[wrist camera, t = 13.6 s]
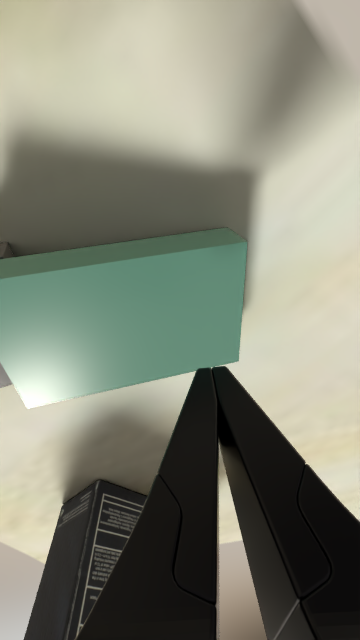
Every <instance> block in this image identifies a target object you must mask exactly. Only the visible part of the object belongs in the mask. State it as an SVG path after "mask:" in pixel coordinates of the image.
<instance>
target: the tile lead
mask: <svg viewBox="0 0 360 640" xmlns="http://www.w3.org/2000/svg"><path fill="white" fill-rule="evenodd" d="M246 255H247V241H246V240H245V239H243V238H242V237H240V236H239V235H238V234H236V233H235V232H233V231H232V230H231V229H229V228H228V227H226V228H219V229H212V230H205V231H198V232H191V233H183V234H176V235H169V236H162V237H155V238H148V239H141V240H134V241H127V242H119V243H112V244H105V245H98V246H91V247H84V248H77V249H70V250H63V251H56V252H48V253H41V254H34V255H27V256H20V257H13V258H6V259H0V363H1V364H2V366H3V368H4V370H5V371H6V373H7V375H8V376H9V378H10V380H11V382H12V383H13V385H14V387H15V389H16V390H17V392H18V394H19V395H20V397H21V399H22V401H23V402H24V404H25V406H26V408H27V409H29V408H33V407H38V406H42V405H47V404H51V403H56V402H60V401H65V400H69V399H73V398H78V397H82V396H87V395H91V394H96V393H100V392H104V391H109V390H113V389H118V388H122V387H127V386H131V385H135V384H140V383H144V382H149V381H153V380H158V379H162V378H166V377H171V376H175V375H180V374H184V373H189V372H193V371H197V369H198V368H207V367H210V368H211V367H215V366H220V365H224V364H228V363H233V362H237V361H239V348H240V335H241V321H242V308H243V295H244V281H245V268H246Z"/></svg>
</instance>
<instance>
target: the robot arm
mask: <svg viewBox="0 0 360 640" xmlns="http://www.w3.org/2000/svg"><path fill="white" fill-rule="evenodd" d="M219 444H220V449H221V453H222V457H223V461H224V465H225V470H226V474H227V478H228V482H229V486H230V490H231V494H232V498H233V502H234V506H235V510H236V514H237V518H238V522H239V526H240V530H241V534H242V538H243V542H244V546H245V550H246V555H247V559H248V563H249V566H250V571H251V575H252V579H253V583H254V587H255V591H256V595H257V599H258V603H259V607H260V611H261V616H262V620H263V624H264V628H265V632H266V636H267V640H360V522H359V521H358V520H357V519H356V518H355V516H354V515H353V514H352V513H351V512H350V511H349V510H348V509H347V508H346V507H345V506H344V505H343V504H342V503H341V502H340V501H339V500H338V499H337V497H336V496H335V495H334V494H333V493H332V492H331V491H330V489H329V488H328V487H327V486H326V485H325V484H324V483H323V481H322V480H321V479H320V478H319V477H318V476H317V474H316V473H315V472H314V471H313V470H312V468H311V467H310V466H309V465H308V464H306V465H305V463H306V462H305V460H304V459H303V458H302V457H301V455H300V454H299V453H298V452H297V451H296V449H295V448H294V447H293V446H292V445H291V443H290V442H289V441H288V440H287V439H286V438H285V436H284V435H283V434H282V433H281V432H280V430H279V429H278V428H277V427H276V426H275V424H274V423H273V422H272V421H271V420H270V418H269V417H268V416H267V415H266V414H265V412H264V411H263V410H262V409H261V408H260V406H259V405H258V404H257V403H256V402H255V400H254V399H253V398H252V397H251V396H250V394H249V393H248V392H247V391H246V390H245V388H244V387H243V386H242V385H241V384H240V382H239V381H238V380H237V379H236V378H235V377H234V375H233V374H232V373H231V372H230V371H229V369H228V368H227V367H225V366H220V367H213V368H212V369H211V368H210V367H207V368H198V369H197V371H196V373H195V376H194V378H193V381H192V384H191V386H190V389H189V391H188V394H187V397H186V399H185V402H184V404H183V407H182V410H181V412H180V415H179V417H178V420H177V423H176V425H175V428H174V430H173V433H172V436H171V438H170V441H169V443H168V446H167V449H166V451H165V454H164V456H163V459H162V462H161V464H160V467H159V469H158V474H157V475H156V477H155V479H154V482H153V484H152V487H151V490H150V492H149V494H148V497H147V499H146V501H145V504H144V506H143V509H142V511H141V513H140V516H139V518H138V520H137V522H136V524H135V526H134V528H133V530H132V532H131V534H130V536H129V538H128V540H127V542H126V544H125V546H124V548H123V550H122V552H121V554H120V556H119V558H118V560H117V562H116V563H115V565H114V567H113V569H112V571H111V573H110V575H109V577H108V579H107V581H106V583H105V585H104V587H103V589H102V591H101V592H100V594H99V596H98V598H97V600H96V602H95V604H94V606H93V608H92V610H91V612H90V614H89V615H88V617H87V619H86V621H85V623H84V625H83V626H82V628H81V630H80V632H79V633H78V635H77V637H76V638H75V640H219Z"/></svg>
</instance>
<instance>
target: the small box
mask: <svg viewBox="0 0 360 640" xmlns="http://www.w3.org/2000/svg"><path fill="white" fill-rule="evenodd" d="M146 499H147V496H144V495H141V494H138V493H136V492H133V491H130V490H127V489H124V488H121V487H119V486H115V485H113V484H110V483H107V482H104V481H101V480H99V481H96V482H95V483H93V484H92V485H91V486H89V487H88V488H86V489H85V490H84V491H83V492H81V493H80V494H78V495H77V496H75V497H74V498H72V499H70V500H69V501H68V502H66V503H65V504H64V505H63V506H62V507H61V511H60V515H59V519H58V522H57V526H56V529H55V533H54V536H53V540H52V543H51V547H50V550H49V554H48V557H47V561H46V564H45V568H44V571H43V575H42V579H41V582H40V585H39V589H38V592H37V596H36V600H35V603H34V606H33V609H32V613H31V617H30V620H29V624H28V627H27V631H26V634H25V637H24V640H75V638H76V637H77V635H78V633H79V632H80V630H81V628H82V626H83V625H84V623H85V621H86V619H87V617H88V615H89V614H90V612H91V610H92V608H93V606H94V604H95V602H96V600H97V598H98V596H99V594H100V592H101V591H102V589H103V587H104V585H105V583H106V581H107V579H108V577H109V575H110V573H111V571H112V569H113V567H114V565H115V563H116V562H117V560H118V558H119V556H120V554H121V552H122V550H123V548H124V546H125V544H126V542H127V540H128V538H129V536H130V534H131V532H132V530H133V528H134V526H135V524H136V522H137V520H138V518H139V516H140V513H141V511H142V509H143V506H144V504H145V501H146Z"/></svg>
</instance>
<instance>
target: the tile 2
mask: <svg viewBox="0 0 360 640" xmlns="http://www.w3.org/2000/svg"><path fill="white" fill-rule="evenodd" d="M13 257H14V255H13V253H12V251H11V249H10V246H9V244H8V242H5V243H0V259H6V258H13ZM11 384H13V383H12V382H11V380H10V378H9V376H8V375H7V373H6V371H5V370H4V368H3V366H2V364H1V363H0V388H2V387H5V386H8V385H11Z"/></svg>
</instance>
